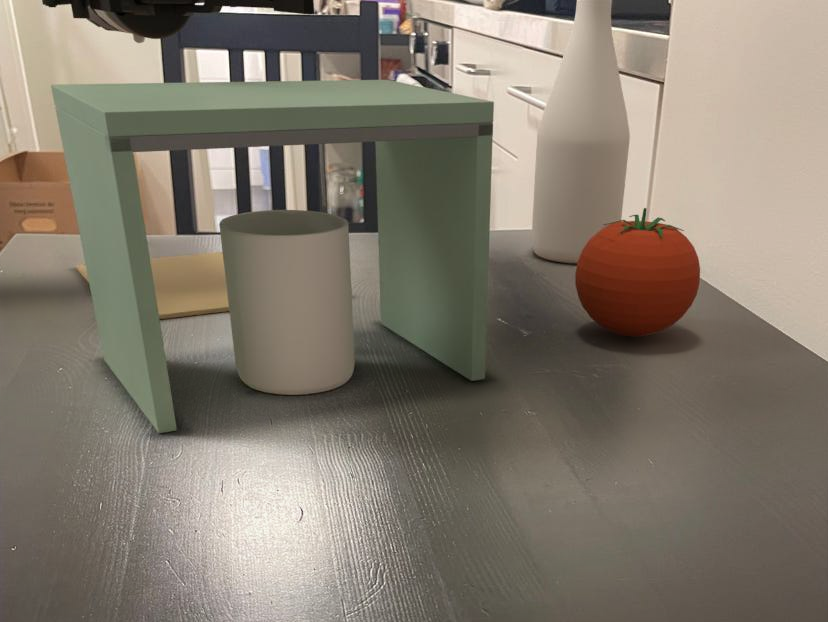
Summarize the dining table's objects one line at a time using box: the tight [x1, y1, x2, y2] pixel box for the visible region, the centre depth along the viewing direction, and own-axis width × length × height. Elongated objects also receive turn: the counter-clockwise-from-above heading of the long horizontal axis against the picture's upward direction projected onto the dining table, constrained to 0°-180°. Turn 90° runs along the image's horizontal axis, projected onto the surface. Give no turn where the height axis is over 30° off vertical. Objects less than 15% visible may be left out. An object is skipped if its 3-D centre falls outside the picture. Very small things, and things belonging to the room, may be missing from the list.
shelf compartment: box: [50, 79, 495, 434], centre depth 67 cm, size 24×16×18 cm, turn 120°
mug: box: [218, 209, 355, 396], centre depth 70 cm, size 9×12×11 cm
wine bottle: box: [530, 0, 631, 264], centre depth 98 cm, size 10×10×30 cm
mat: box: [75, 251, 229, 320], centre depth 92 cm, size 20×20×1 cm
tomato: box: [574, 207, 701, 337], centre depth 80 cm, size 10×10×10 cm
